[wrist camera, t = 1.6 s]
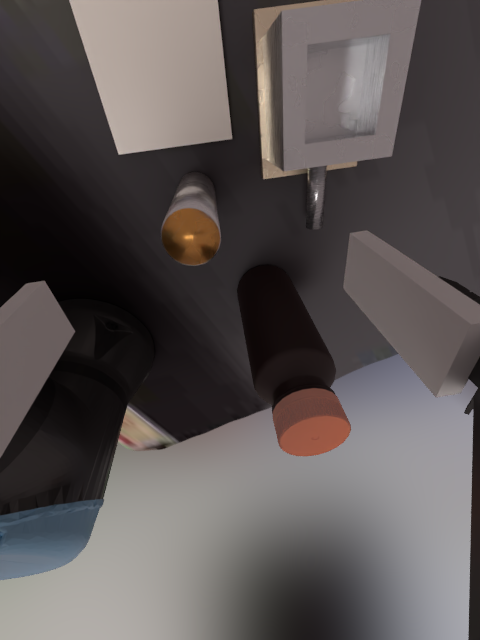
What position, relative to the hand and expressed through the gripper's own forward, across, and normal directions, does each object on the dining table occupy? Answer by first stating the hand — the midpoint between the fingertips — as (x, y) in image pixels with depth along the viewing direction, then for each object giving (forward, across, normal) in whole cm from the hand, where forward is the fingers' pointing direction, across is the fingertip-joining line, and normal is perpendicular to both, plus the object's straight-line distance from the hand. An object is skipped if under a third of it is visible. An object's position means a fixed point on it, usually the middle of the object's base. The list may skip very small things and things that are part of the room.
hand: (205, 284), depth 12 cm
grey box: (+19, +10, +4) cm, 22 cm away
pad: (+19, -2, +9) cm, 21 cm away
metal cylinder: (+19, 0, 0) cm, 19 cm away
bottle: (+19, +5, -12) cm, 23 cm away
